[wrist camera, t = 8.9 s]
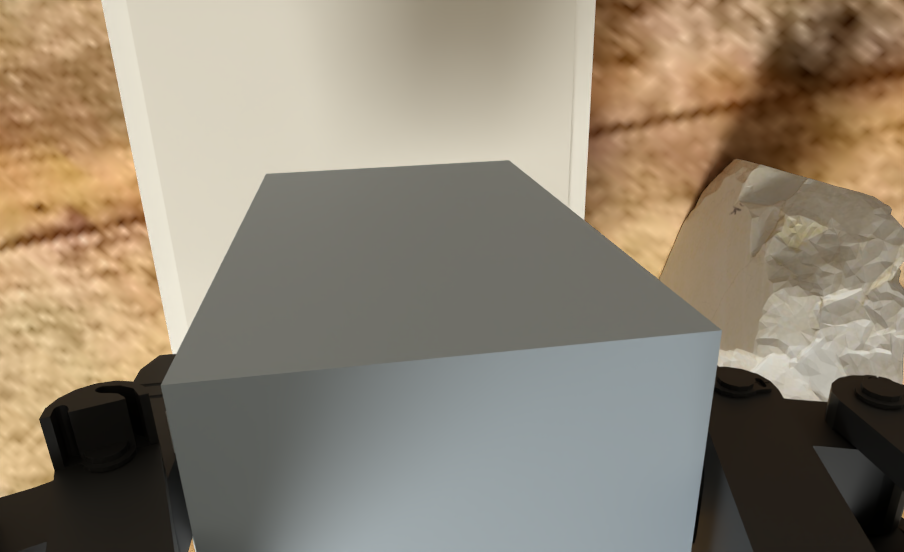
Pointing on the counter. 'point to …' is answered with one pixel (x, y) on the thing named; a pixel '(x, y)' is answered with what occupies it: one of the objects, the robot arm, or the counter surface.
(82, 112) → the counter surface
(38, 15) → the counter surface
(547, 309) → the block
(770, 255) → the stone
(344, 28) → the plinth
